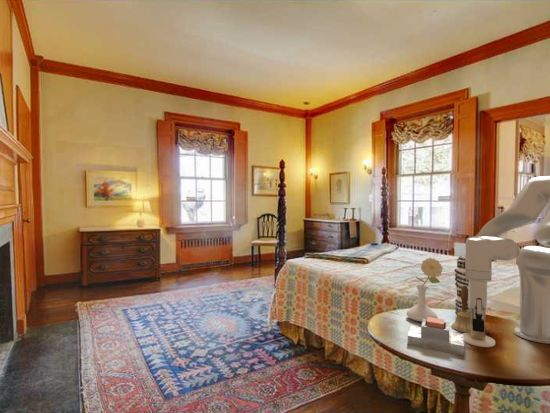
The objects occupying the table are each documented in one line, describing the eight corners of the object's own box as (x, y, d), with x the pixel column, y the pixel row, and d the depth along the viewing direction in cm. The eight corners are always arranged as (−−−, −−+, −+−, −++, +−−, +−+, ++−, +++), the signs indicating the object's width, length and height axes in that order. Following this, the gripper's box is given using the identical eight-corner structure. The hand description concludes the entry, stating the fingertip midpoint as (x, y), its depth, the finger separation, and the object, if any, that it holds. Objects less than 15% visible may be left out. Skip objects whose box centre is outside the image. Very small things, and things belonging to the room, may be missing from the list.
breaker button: (444, 332, 108) (444, 319, 108) (443, 337, 104) (443, 324, 104) (427, 329, 111) (427, 316, 110) (426, 334, 106) (426, 321, 106)
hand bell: (477, 327, 122) (477, 284, 122) (476, 334, 115) (477, 289, 115) (451, 323, 126) (452, 282, 126) (450, 329, 119) (450, 286, 119)
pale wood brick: (484, 335, 111) (484, 306, 111) (485, 340, 107) (485, 309, 107) (470, 333, 113) (470, 304, 112) (471, 337, 109) (471, 307, 109)
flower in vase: (404, 321, 127) (405, 258, 127) (407, 313, 138) (408, 254, 137) (442, 327, 121) (442, 260, 121) (442, 318, 131) (443, 256, 131)
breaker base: (462, 343, 108) (463, 323, 108) (463, 355, 99) (464, 334, 99) (410, 333, 115) (411, 315, 115) (407, 344, 107) (407, 324, 107)
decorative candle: (474, 324, 125) (475, 259, 125) (449, 317, 133) (450, 256, 132) (484, 319, 131) (485, 257, 130) (460, 312, 138) (461, 254, 138)
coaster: (486, 335, 114) (486, 333, 114) (501, 348, 104) (501, 345, 104) (455, 333, 116) (455, 331, 116) (468, 346, 106) (468, 343, 106)
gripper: (464, 269, 119) (464, 319, 119) (466, 278, 104) (465, 335, 104) (489, 271, 115) (488, 322, 115) (494, 281, 100) (493, 340, 101)
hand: (477, 328), depth 110 cm, fingers open, 4 cm apart
